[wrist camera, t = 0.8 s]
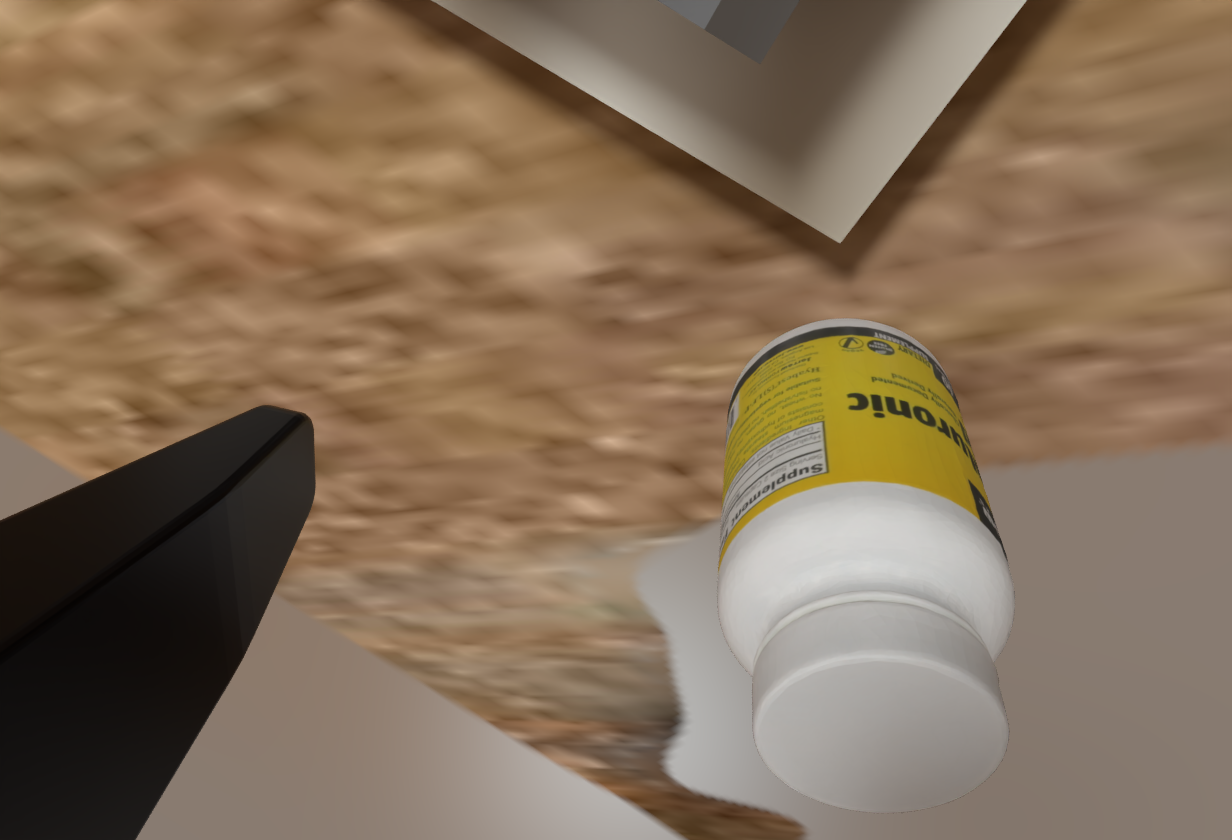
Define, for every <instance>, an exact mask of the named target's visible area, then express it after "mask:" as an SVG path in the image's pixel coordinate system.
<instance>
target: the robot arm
mask: <svg viewBox="0 0 1232 840" xmlns="http://www.w3.org/2000/svg"><path fill="white" fill-rule="evenodd" d="M315 484H316V483H315V453H314V429H313V424H312V421H311V419H310V418H309V417H308V416H307V415H306V414H304V413H302V412H297V411H293V410H289V409H284V408H280V407H276V406H270V405H262V406H259V407H256V408H253V409H251V410H249V411H246V412H244V413H242V414H240V415H237V416H235V417H233V418H231V419H228V420H226V421H224V422H222V423H219V424H217V425H215V426H213V427H210V428H208V429H206V430H204V431H201V432H199V433H197V434H194V435H192V436H190V437H188V438H185V439H183V440H181V441H179V442H176V443H174V444H172V445H170V446H167V447H165V448H163V449H161V450H158V451H156V452H154V453H152V454H149V455H147V456H145V457H142V458H140V459H138V460H136V461H133V462H131V463H129V464H127V465H124V466H122V467H120V468H118V469H115V470H113V471H111V472H109V473H106V474H104V475H102V476H100V477H97V478H95V479H93V480H90V481H88V482H86V483H84V484H82V485H79V486H77V487H75V488H72V489H70V490H68V491H66V492H63V493H61V494H59V495H57V496H54V497H52V498H50V499H48V500H45V501H43V502H41V503H38V504H36V505H34V506H32V507H30V508H27V509H25V510H23V511H20V512H18V513H16V514H14V515H11V516H9V517H7V518H5V519H2V520H0V840H136V838H137V836H138V835H139V833H140V831H141V829H142V828H143V826H144V825H145V823H146V821H147V820H148V818H149V816H150V814H151V813H152V811H153V809H154V808H155V806H156V804H157V803H158V801H159V799H160V798H161V796H162V794H163V793H164V791H165V789H166V787H167V786H168V784H169V783H170V781H171V779H172V778H173V776H174V774H175V772H176V771H177V769H178V768H179V766H180V764H181V763H182V761H183V759H184V758H185V756H186V754H187V753H188V751H189V749H190V747H191V746H192V744H193V743H194V741H195V739H196V738H197V736H198V734H199V732H200V731H201V729H202V728H203V726H204V724H205V722H206V721H207V719H208V718H209V716H210V714H211V713H212V711H213V709H214V708H215V706H216V704H217V703H218V701H219V699H220V698H221V696H222V694H223V692H224V691H225V689H226V687H227V686H228V684H229V682H230V681H231V679H232V677H233V675H234V673H235V672H236V670H237V668H238V666H239V665H240V663H241V661H242V659H243V658H244V655H245V653H246V651H247V649H248V647H249V645H250V643H251V641H252V639H253V637H254V635H255V632H256V630H257V628H258V626H259V624H260V621H261V619H262V617H263V614H264V612H265V610H266V608H267V606H268V604H269V601H270V599H271V597H272V595H273V593H274V590H275V588H276V586H277V584H278V581H279V579H280V577H281V575H282V573H283V570H284V568H285V566H286V564H287V561H288V559H289V557H290V555H291V553H292V550H293V548H294V546H295V544H296V541H297V539H298V537H299V535H300V533H301V530H302V528H303V526H304V524H305V521H306V519H307V517H308V515H309V512H310V510H311V507H312V504H313V500H314V495H315Z"/></svg>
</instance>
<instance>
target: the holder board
mask: <svg viewBox="0 0 1232 840" xmlns="http://www.w3.org/2000/svg"><path fill="white" fill-rule="evenodd" d="M432 1H433V2H435V3H437V4H439V5H440V6H442V7H444V8H445V9H447V10H449V11H450V12H452V13H454V14H455V15H457V16H459V17H460V18H462V19H464V20H465V21H467V22H469V23H470V24H472V25H474V26H475V27H477V28H479V29H481V30H482V31H484V32H486V33H487V34H489V35H491V36H492V37H494V38H496V39H497V40H499V41H501V42H502V43H504V44H506V45H507V46H509V47H511V48H512V49H514V50H516V51H517V52H519V53H521V54H522V55H524V56H526V57H528V58H529V59H531V60H533V61H534V62H536V63H538V64H539V65H541V66H543V67H544V68H546V69H548V70H549V71H551V72H553V73H554V74H556V75H558V76H559V77H561V78H563V79H564V80H566V81H568V82H570V83H571V84H573V85H575V86H576V87H578V88H580V89H581V90H583V91H585V92H586V93H588V94H590V95H591V96H593V97H595V98H596V99H598V100H600V101H601V102H603V103H605V104H606V105H608V106H610V107H611V108H613V109H615V110H617V111H618V112H620V113H622V114H623V115H625V116H627V117H628V118H630V119H632V120H633V121H635V122H637V123H638V124H640V125H642V126H643V127H645V128H647V129H648V130H650V131H652V132H653V133H655V134H657V135H659V136H660V137H662V138H664V139H665V140H667V141H669V142H670V143H672V144H674V145H675V146H677V147H679V148H680V149H682V150H684V151H685V152H687V153H689V154H690V155H692V156H694V157H695V158H697V159H699V160H700V161H702V162H704V163H706V164H707V165H709V166H711V167H712V168H714V169H716V170H717V171H719V172H721V173H722V174H724V175H726V176H727V177H729V178H731V179H732V180H734V181H736V182H737V183H739V184H741V185H742V186H744V187H746V188H748V189H749V190H751V191H753V192H754V193H756V194H758V195H759V196H761V197H763V198H764V199H766V200H768V201H769V202H771V203H773V204H774V205H776V206H778V207H779V208H781V209H783V210H784V211H786V212H788V213H789V214H791V215H793V216H795V217H796V218H798V219H800V220H801V221H803V222H805V223H806V224H808V225H810V226H811V227H813V228H815V229H816V230H818V231H820V232H821V233H823V234H825V235H826V236H828V237H830V238H831V239H833V240H835V241H837V242H838V243H841V242H842V240H843V239H844V238H845V237H846V235H847V234H848V233H849V231H850V230H851V229H852V227H853V226H854V225H855V224H856V222H857V221H858V220H859V218H860V217H861V216H862V214H863V213H864V212H865V211H866V209H867V208H868V207H869V205H870V204H871V203H872V201H873V200H874V199H875V198H876V196H877V195H878V194H879V192H880V191H881V190H882V188H883V187H884V186H885V184H886V183H887V182H888V181H889V179H890V178H891V177H892V175H893V174H894V173H895V171H896V170H897V169H898V168H899V166H900V165H901V164H902V162H903V161H904V160H905V158H906V157H907V156H908V155H909V153H910V152H911V151H912V149H913V148H914V147H915V145H916V144H917V143H918V141H919V140H920V139H921V138H922V136H923V135H924V134H925V132H926V131H927V130H928V128H929V127H930V126H931V125H932V123H933V122H934V121H935V119H936V118H937V117H938V115H939V114H940V113H941V112H942V110H943V109H944V108H945V106H946V105H947V104H948V102H949V101H950V100H951V98H952V97H953V96H954V95H955V93H956V92H957V91H958V89H959V88H960V87H961V85H962V84H963V83H964V82H965V80H966V79H967V78H968V76H969V75H970V74H971V72H972V71H973V70H974V69H975V67H976V66H977V65H978V63H979V62H980V61H981V59H982V58H983V57H984V56H985V54H986V53H987V52H988V50H989V49H990V48H991V46H992V45H993V44H994V42H995V41H996V40H997V39H998V37H999V36H1000V35H1001V33H1002V32H1003V31H1004V29H1005V28H1006V27H1007V26H1008V24H1009V23H1010V22H1011V20H1012V19H1013V18H1014V16H1015V15H1016V14H1017V13H1018V11H1019V10H1020V9H1021V7H1022V6H1023V5H1024V3H1025V2H1026V1H1027V0H432Z"/></svg>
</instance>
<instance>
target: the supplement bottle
mask: <svg viewBox="0 0 1232 840" xmlns="http://www.w3.org/2000/svg"><path fill="white" fill-rule="evenodd" d="M720 537H721V538H720V548H719V567H718V586H717V590H718V591H717V592H718V594H717V603H718V614H719V620H720V625H721V628H722V631H723V634H724V637H725V639H726V642H727V643H728V646H729V647H730V649H731V651H732V653H733V654H734V656H735V657H736V659H737V660H738V662H739V663H740V664H741V665H742V666H743V668H744V669H745V670H746V671H747V672H748V673H749V674H750V675H751V676H752V677H753V684H752V704H753V736H754V741H755V744H756V747H757V750H758V753H759V755H760V756H761V758H762V760H763V761H764V763H765V764H766V766H767V767H768V768H769V769H770V770H771V771H772V773H773V774H774V775H775V776H776V777H777V778H779V779H780V780H781V781H782V782H784V783H785V784H786V785H787V786H789V787H790V788H792V789H794V790H795V791H797V792H799V793H801V794H803V795H804V796H806V797H809V798H811V799H814V800H816V801H819V802H821V803H824V804H827V805H831V806H834V807H838V808H841V809H847V810H853V811H859V812H869V813H902V812H911V811H918V810H923V809H928V808H932V807H935V806H939V805H942V804H945V803H948V802H951V801H954V800H956V799H958V798H961V797H962V796H964V795H966V794H967V793H969V792H971V791H972V790H974V789H975V788H977V787H978V786H979V785H980V784H982V783H983V782H985V781H986V780H987V779H988V778H989V777H990V776H991V775H992V774H993V773H994V772H995V770H996V769H997V767H998V766H999V764H1000V763H1001V762H1002V760H1003V757H1004V755H1005V752H1006V750H1007V745H1008V740H1009V723H1008V719H1007V715H1006V711H1005V707H1004V703H1003V699H1002V695H1001V691H1000V687H999V680H998V674H997V671H996V667H995V665H994V662H995V660H996V659H997V658H998V656H999V655H1000V654H1001V652H1002V650H1003V648H1004V646H1005V645H1006V643H1007V640H1008V637H1009V635H1010V632H1011V628H1012V624H1013V620H1014V611H1015V591H1014V586H1013V581H1012V577H1011V573H1010V570H1009V565H1008V560H1007V557H1006V553H1005V550H1004V548H1003V544H1002V541H1001V539H1000V536H999V533H998V530H997V527H996V524H995V521H994V518H993V515H992V511H991V508H990V505H989V501H988V498H987V495H986V492H985V490H984V487H983V483H982V479H981V476H980V473H979V470H978V467H977V463H976V460H975V457H974V454H973V451H972V448H971V445H970V442H969V438H968V435H967V432H966V429H965V426H964V423H963V419H962V417H961V413H960V409H959V405H958V402H957V399H956V396H955V394H954V392H953V389H952V387H951V384H950V382H949V380H948V378H947V375H946V373H945V371H944V370H943V368H942V367H941V365H940V364H939V362H938V361H937V359H936V358H935V357H934V356H933V355H932V354H931V353H930V351H929V350H928V349H926V348H925V347H924V346H923V345H922V344H921V343H919V342H918V341H917V340H915V339H914V338H912V337H911V336H909V335H907V334H906V333H904V332H902V331H900V330H898V329H895V328H893V327H891V326H888V325H884V324H881V323H878V322H873V321H869V320H862V319H852V318H840V319H827V320H822V321H817V322H813V323H809V324H806V325H803V326H801V327H798V328H795V329H793V330H791V331H789V332H787V333H784V334H783V335H781V336H779V337H778V338H776V339H774V340H773V341H771V342H770V343H769V344H767V345H766V346H765V347H764V348H762V349H761V350H760V351H759V352H758V353H757V354H756V355H755V356H754V357H753V358H752V359H751V360H750V361H749V362H748V364H747V365H746V367H745V368H744V369H743V371H742V373H741V374H740V376H739V378H738V380H737V382H736V384H735V386H734V389H733V392H732V395H731V400H730V406H729V410H728V419H727V429H726V450H725V464H724V485H723V498H722V516H721V536H720Z"/></svg>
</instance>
